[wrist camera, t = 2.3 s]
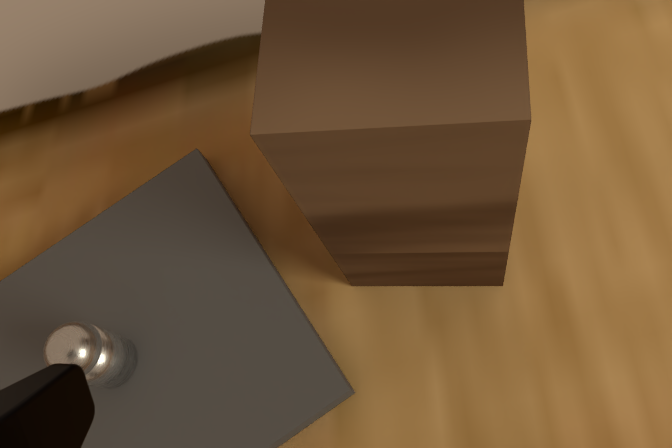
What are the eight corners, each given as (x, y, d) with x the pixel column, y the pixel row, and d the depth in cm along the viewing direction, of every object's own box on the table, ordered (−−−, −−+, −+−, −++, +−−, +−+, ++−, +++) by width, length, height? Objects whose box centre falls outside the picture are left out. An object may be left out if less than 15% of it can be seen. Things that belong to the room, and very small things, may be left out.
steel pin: (101, 399, 23) (42, 389, 20) (81, 354, 24) (22, 338, 21) (146, 368, 23) (94, 353, 20) (125, 324, 24) (72, 303, 21)
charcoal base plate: (28, 622, 22) (8, 629, 21) (-65, 342, 27) (-84, 338, 26) (355, 392, 22) (350, 389, 22) (206, 158, 27) (196, 148, 26)
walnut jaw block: (502, 285, 23) (531, 119, 12) (351, 286, 24) (249, 134, 13) (497, 148, 25) (517, -104, 14) (357, 155, 26) (273, -73, 15)
